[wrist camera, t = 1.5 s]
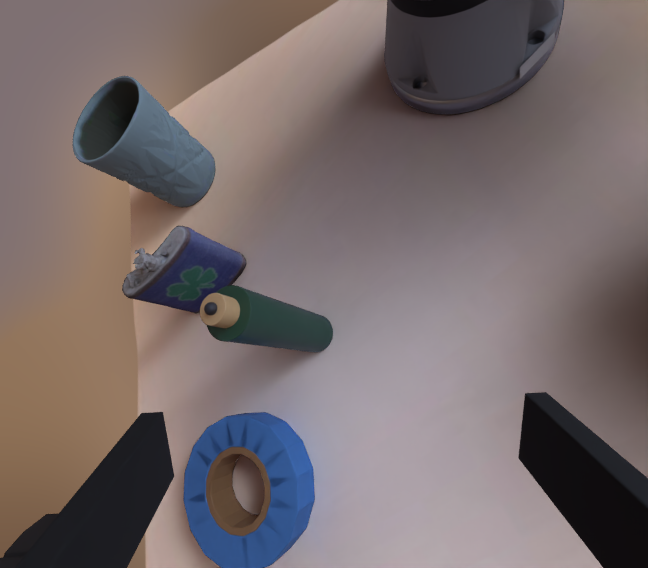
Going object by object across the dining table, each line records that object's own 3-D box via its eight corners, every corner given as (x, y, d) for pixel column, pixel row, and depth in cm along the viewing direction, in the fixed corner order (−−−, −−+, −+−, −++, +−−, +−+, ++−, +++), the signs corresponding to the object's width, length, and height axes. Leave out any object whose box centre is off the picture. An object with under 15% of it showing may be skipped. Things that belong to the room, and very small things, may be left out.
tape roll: (208, 414, 37) (186, 417, 34) (310, 410, 32) (294, 413, 29) (205, 547, 33) (180, 562, 31) (318, 564, 29) (301, 584, 26)
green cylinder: (298, 317, 35) (184, 283, 22) (331, 312, 33) (231, 272, 20) (300, 354, 34) (181, 341, 21) (334, 350, 32) (230, 334, 19)
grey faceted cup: (161, 220, 47) (66, 175, 36) (164, 157, 50) (77, 98, 39) (221, 198, 43) (135, 141, 32) (220, 131, 46) (141, 58, 35)
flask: (240, 249, 40) (164, 211, 30) (252, 267, 39) (176, 233, 29) (187, 302, 41) (99, 281, 32) (196, 320, 40) (108, 305, 31)
